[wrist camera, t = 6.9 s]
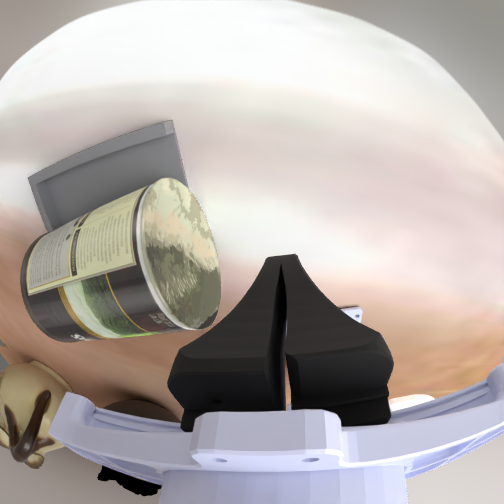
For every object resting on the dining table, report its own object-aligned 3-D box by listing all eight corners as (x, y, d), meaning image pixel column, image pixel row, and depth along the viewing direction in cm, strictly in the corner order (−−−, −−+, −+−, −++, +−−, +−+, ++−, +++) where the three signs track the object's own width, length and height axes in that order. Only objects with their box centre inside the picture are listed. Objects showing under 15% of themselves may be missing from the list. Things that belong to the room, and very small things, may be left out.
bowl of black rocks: (210, 399, 38) (191, 507, 22) (200, 435, 49) (187, 509, 33) (95, 364, 37) (55, 456, 21) (115, 409, 47) (91, 477, 31)
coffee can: (178, 358, 13) (41, 358, 16) (232, 304, 23) (111, 324, 26) (129, 160, 12) (10, 235, 15) (201, 185, 22) (87, 230, 25)
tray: (215, 283, 26) (211, 295, 24) (89, 290, 28) (82, 300, 26) (172, 119, 18) (163, 122, 16) (39, 171, 20) (27, 177, 19)
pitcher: (38, 383, 51) (7, 450, 29) (1, 327, 39) (-47, 406, 17) (102, 413, 51) (75, 493, 30) (69, 362, 39) (21, 468, 18)
